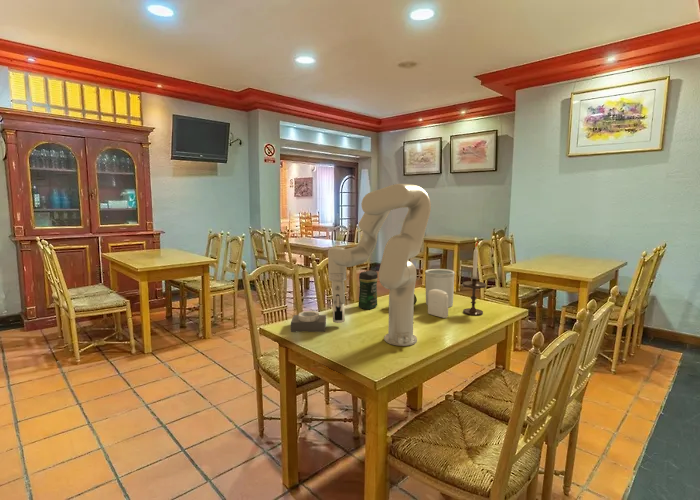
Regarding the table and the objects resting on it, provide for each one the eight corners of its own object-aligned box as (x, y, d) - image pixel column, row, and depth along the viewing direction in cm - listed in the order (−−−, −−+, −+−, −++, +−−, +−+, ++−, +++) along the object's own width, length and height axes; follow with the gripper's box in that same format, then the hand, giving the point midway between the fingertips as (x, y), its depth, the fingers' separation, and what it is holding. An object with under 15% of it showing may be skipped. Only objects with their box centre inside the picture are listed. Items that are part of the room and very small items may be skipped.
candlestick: (488, 312, 188) (492, 240, 184) (478, 317, 181) (482, 242, 176) (467, 308, 196) (470, 238, 191) (457, 312, 188) (460, 240, 183)
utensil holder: (419, 305, 201) (420, 271, 199) (431, 299, 213) (432, 267, 211) (446, 310, 193) (447, 275, 190) (457, 303, 204) (459, 270, 202)
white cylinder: (344, 322, 165) (344, 304, 164) (332, 323, 165) (332, 304, 164) (344, 319, 170) (344, 301, 169) (333, 319, 170) (332, 301, 169)
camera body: (324, 331, 162) (324, 317, 161) (290, 331, 162) (290, 317, 161) (326, 323, 172) (325, 310, 171) (294, 323, 171) (293, 310, 171)
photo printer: (426, 313, 187) (426, 288, 185) (431, 312, 189) (432, 287, 188) (443, 319, 179) (444, 292, 177) (449, 317, 181) (450, 291, 180)
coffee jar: (368, 310, 191) (369, 273, 189) (356, 307, 196) (356, 271, 194) (380, 306, 199) (380, 270, 196) (367, 303, 204) (367, 268, 201)
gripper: (346, 280, 157) (347, 324, 159) (346, 272, 174) (347, 312, 176) (327, 280, 157) (329, 324, 159) (329, 273, 174) (330, 312, 176)
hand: (338, 317), depth 168 cm, fingers closed on white cylinder, 5 cm apart
